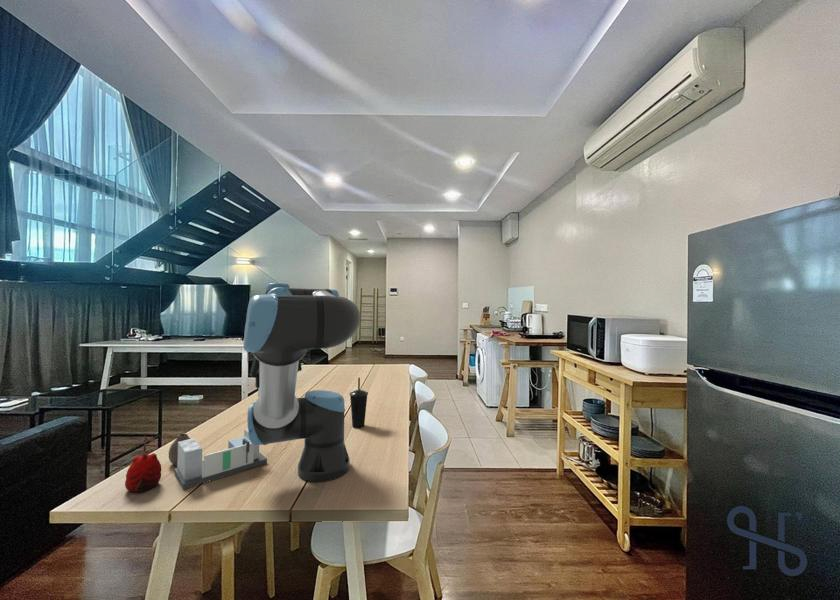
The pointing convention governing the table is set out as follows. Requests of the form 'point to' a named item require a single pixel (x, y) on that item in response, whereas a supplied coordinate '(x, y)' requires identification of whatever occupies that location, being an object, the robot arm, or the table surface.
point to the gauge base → (224, 464)
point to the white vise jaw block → (189, 459)
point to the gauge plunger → (243, 441)
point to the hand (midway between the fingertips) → (276, 394)
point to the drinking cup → (358, 406)
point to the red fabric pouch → (143, 472)
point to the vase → (176, 448)
